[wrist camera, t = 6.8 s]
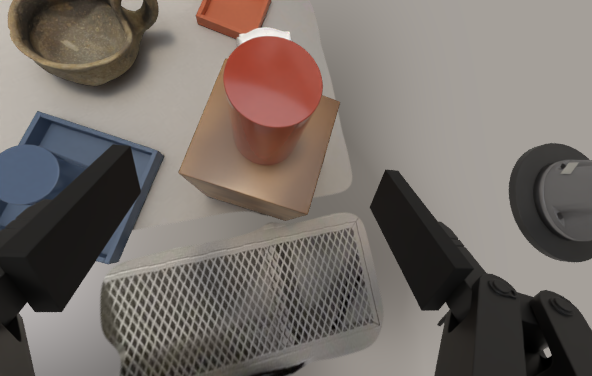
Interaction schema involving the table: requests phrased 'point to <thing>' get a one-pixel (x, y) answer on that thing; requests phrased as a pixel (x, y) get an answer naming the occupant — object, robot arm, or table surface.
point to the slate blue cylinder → (35, 174)
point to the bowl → (80, 36)
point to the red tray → (232, 15)
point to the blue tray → (86, 150)
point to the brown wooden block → (253, 177)
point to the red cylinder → (270, 97)
